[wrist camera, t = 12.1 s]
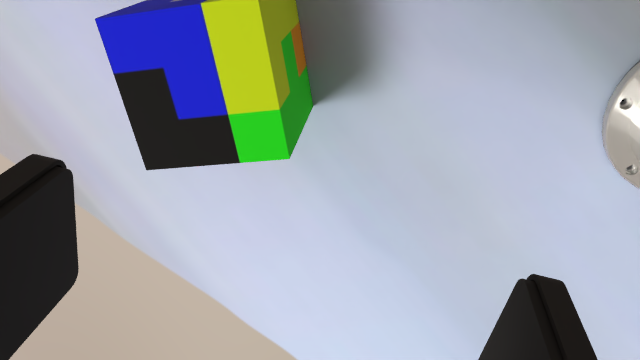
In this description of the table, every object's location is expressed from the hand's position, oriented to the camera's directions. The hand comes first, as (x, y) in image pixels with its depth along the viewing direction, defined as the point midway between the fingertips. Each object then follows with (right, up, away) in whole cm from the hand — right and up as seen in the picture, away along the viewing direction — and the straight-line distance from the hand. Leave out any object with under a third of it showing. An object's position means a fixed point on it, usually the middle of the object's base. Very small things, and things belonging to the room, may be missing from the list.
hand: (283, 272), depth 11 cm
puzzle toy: (-5, +12, +29) cm, 32 cm away
